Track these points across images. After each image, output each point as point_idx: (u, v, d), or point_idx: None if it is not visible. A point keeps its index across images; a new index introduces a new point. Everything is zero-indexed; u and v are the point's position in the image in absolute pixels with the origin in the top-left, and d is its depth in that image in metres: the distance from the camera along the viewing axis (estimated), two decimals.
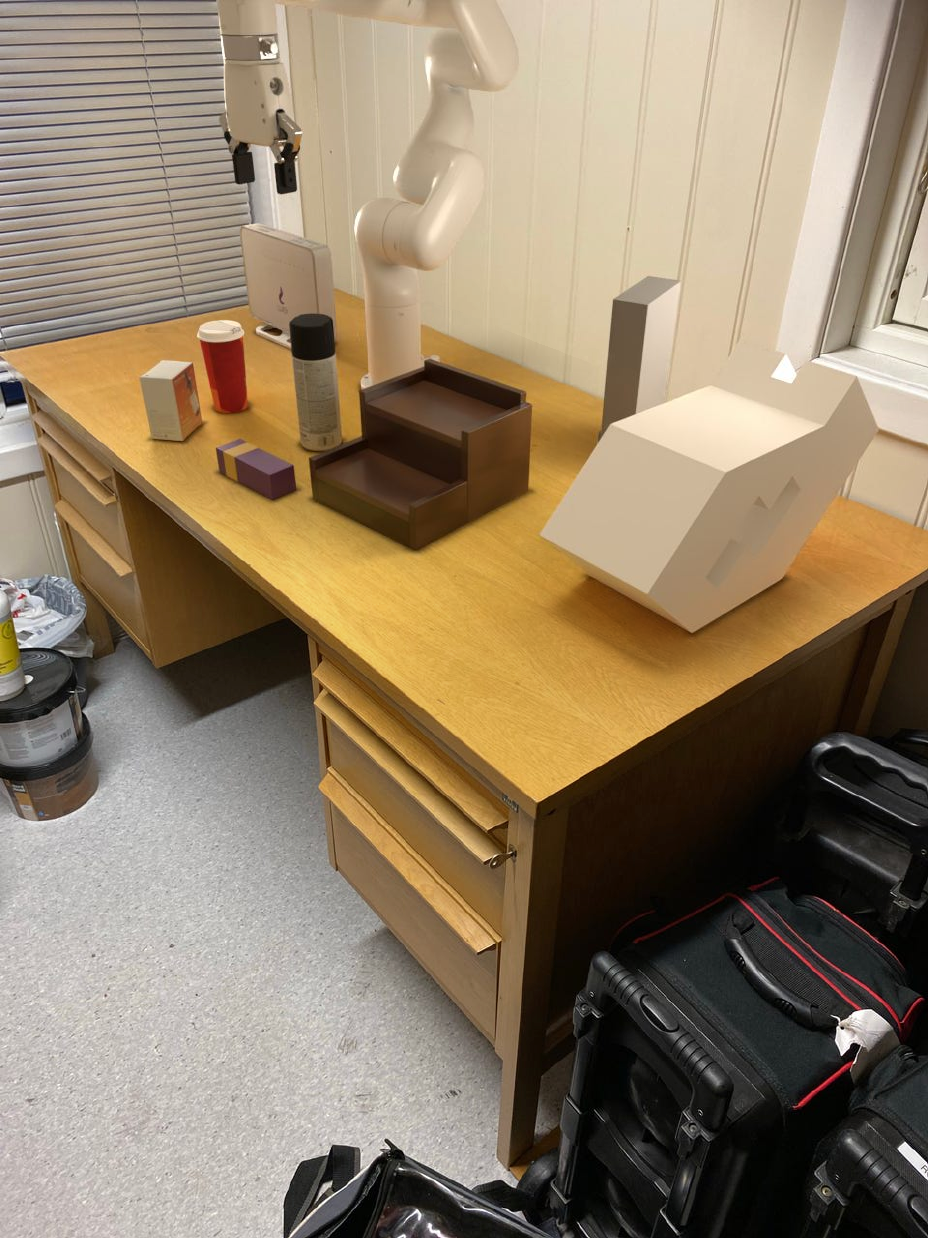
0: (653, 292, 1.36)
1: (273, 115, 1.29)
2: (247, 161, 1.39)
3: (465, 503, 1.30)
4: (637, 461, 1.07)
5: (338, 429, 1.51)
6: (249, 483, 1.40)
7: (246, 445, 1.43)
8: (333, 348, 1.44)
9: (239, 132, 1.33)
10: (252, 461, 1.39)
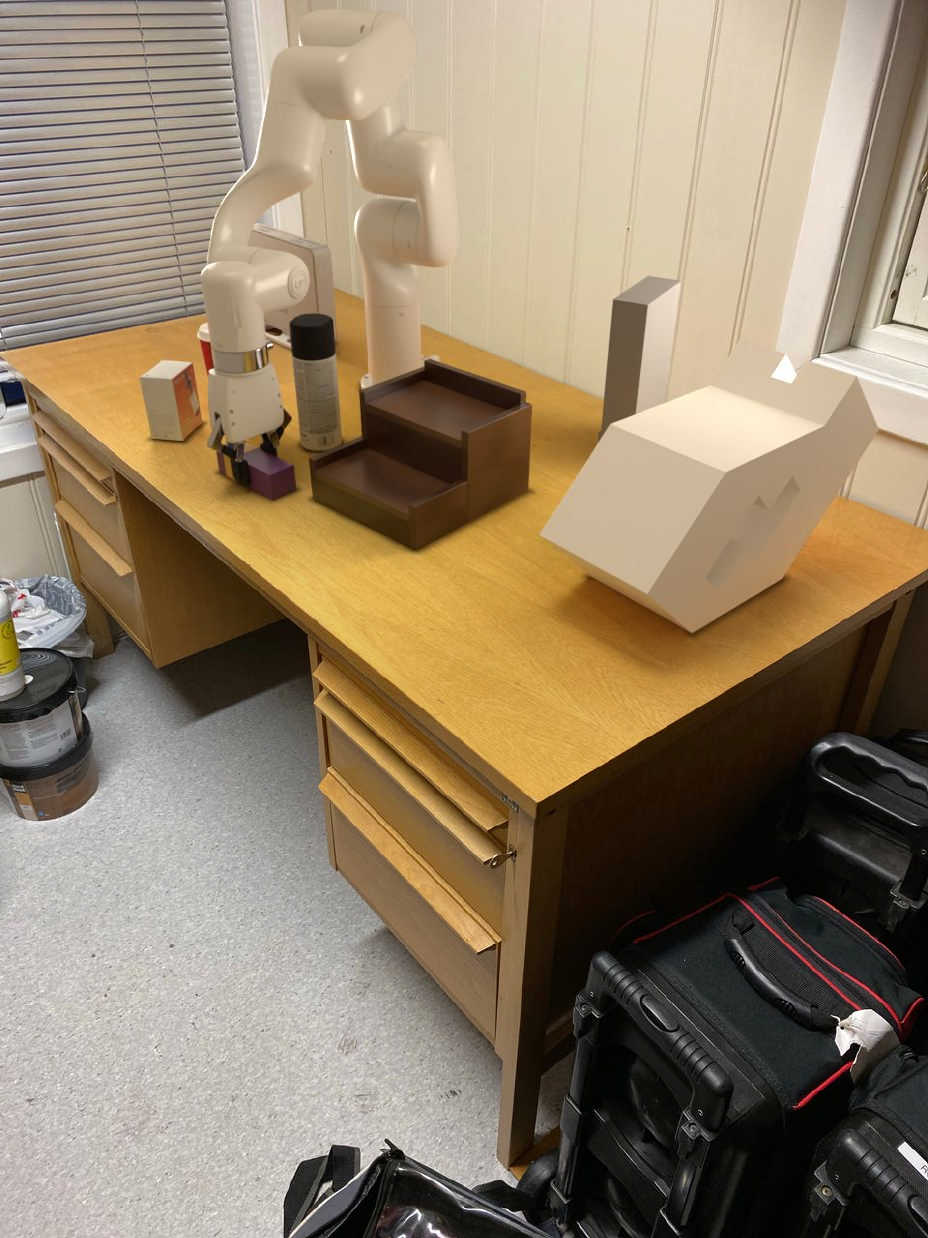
0: (653, 292, 1.36)
1: None
2: None
3: (465, 503, 1.30)
4: (637, 461, 1.07)
5: (338, 429, 1.51)
6: None
7: (246, 445, 1.43)
8: (333, 348, 1.44)
9: (248, 432, 1.35)
10: (252, 461, 1.39)
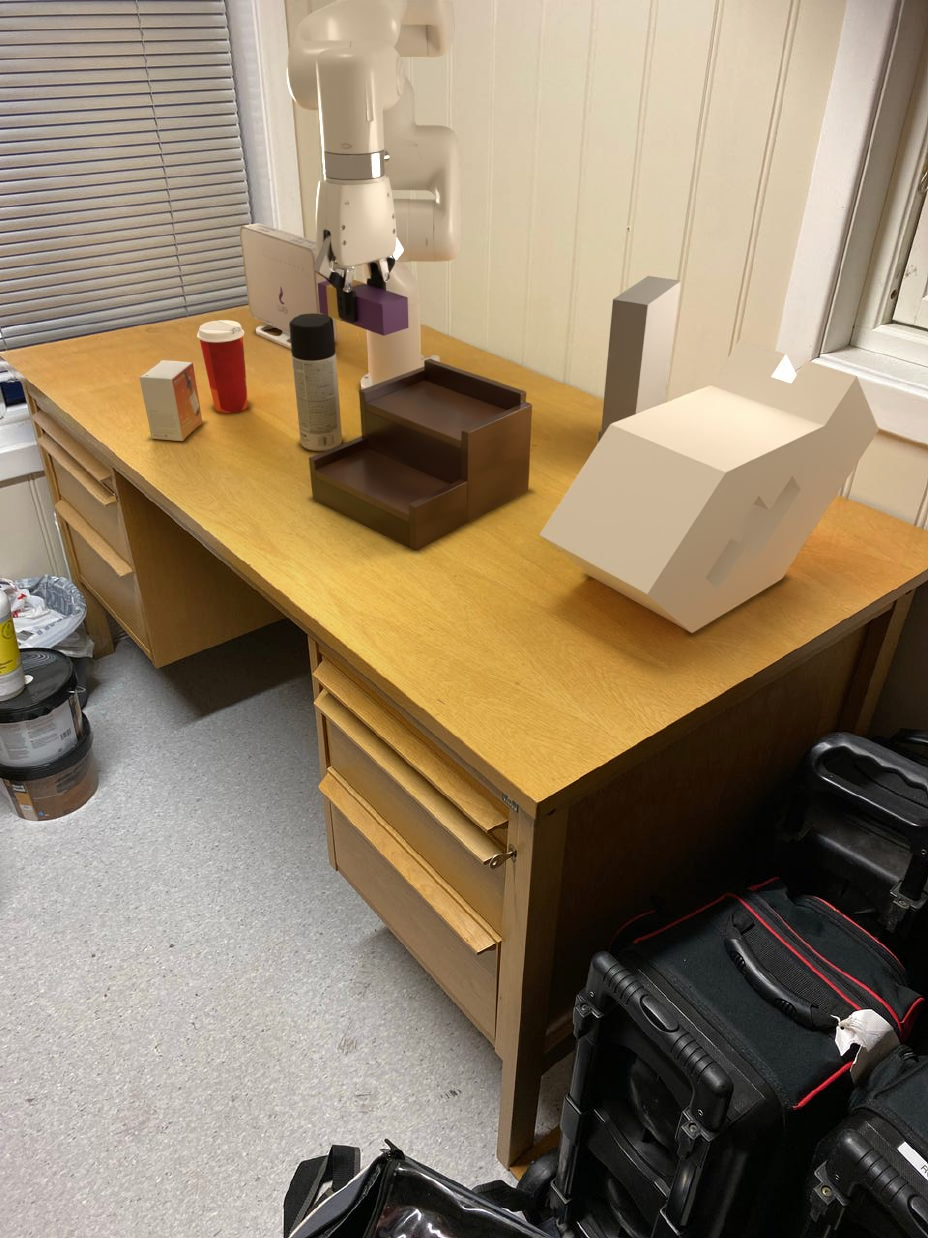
0: (653, 292, 1.36)
1: None
2: None
3: (465, 503, 1.30)
4: (637, 461, 1.07)
5: (338, 429, 1.51)
6: None
7: None
8: (333, 348, 1.44)
9: (359, 256, 1.20)
10: (361, 293, 1.24)
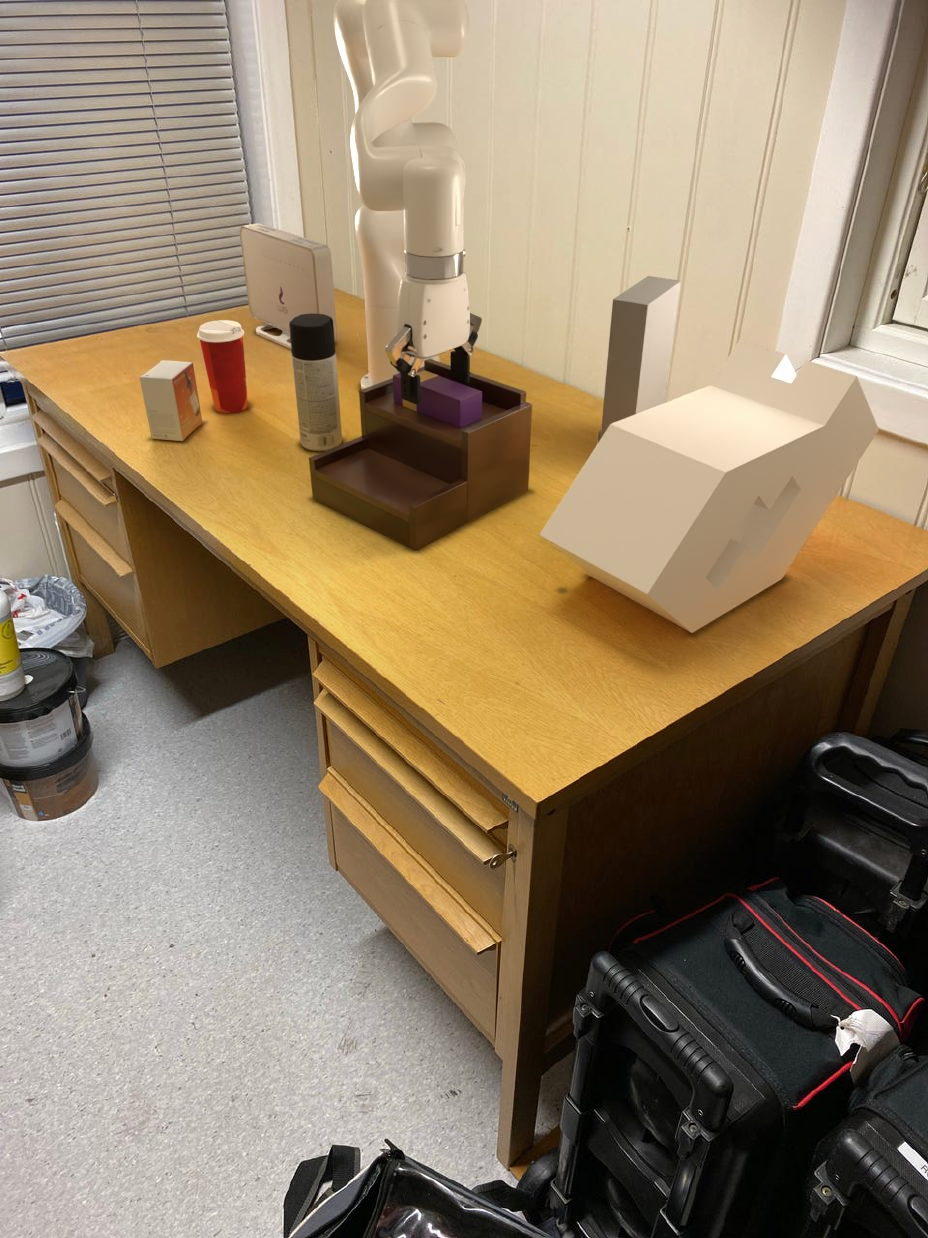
0: (653, 292, 1.36)
1: None
2: None
3: (465, 503, 1.30)
4: (637, 461, 1.07)
5: (338, 429, 1.51)
6: (432, 412, 1.32)
7: (424, 373, 1.35)
8: (333, 348, 1.44)
9: (437, 347, 1.26)
10: (437, 387, 1.31)
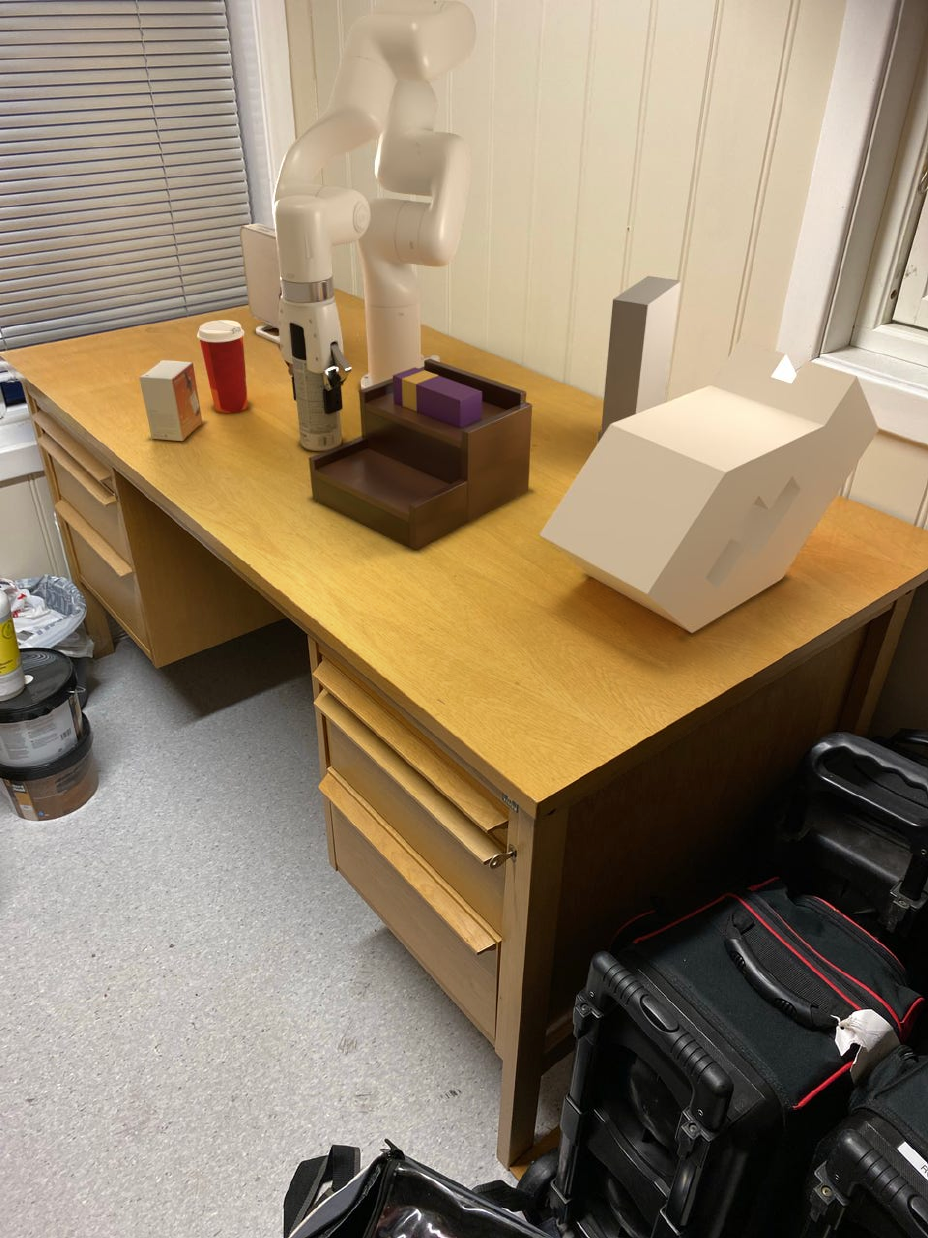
0: (653, 292, 1.36)
1: None
2: None
3: (465, 503, 1.30)
4: (637, 461, 1.07)
5: (338, 429, 1.51)
6: (432, 412, 1.32)
7: (424, 373, 1.35)
8: None
9: None
10: (437, 387, 1.31)
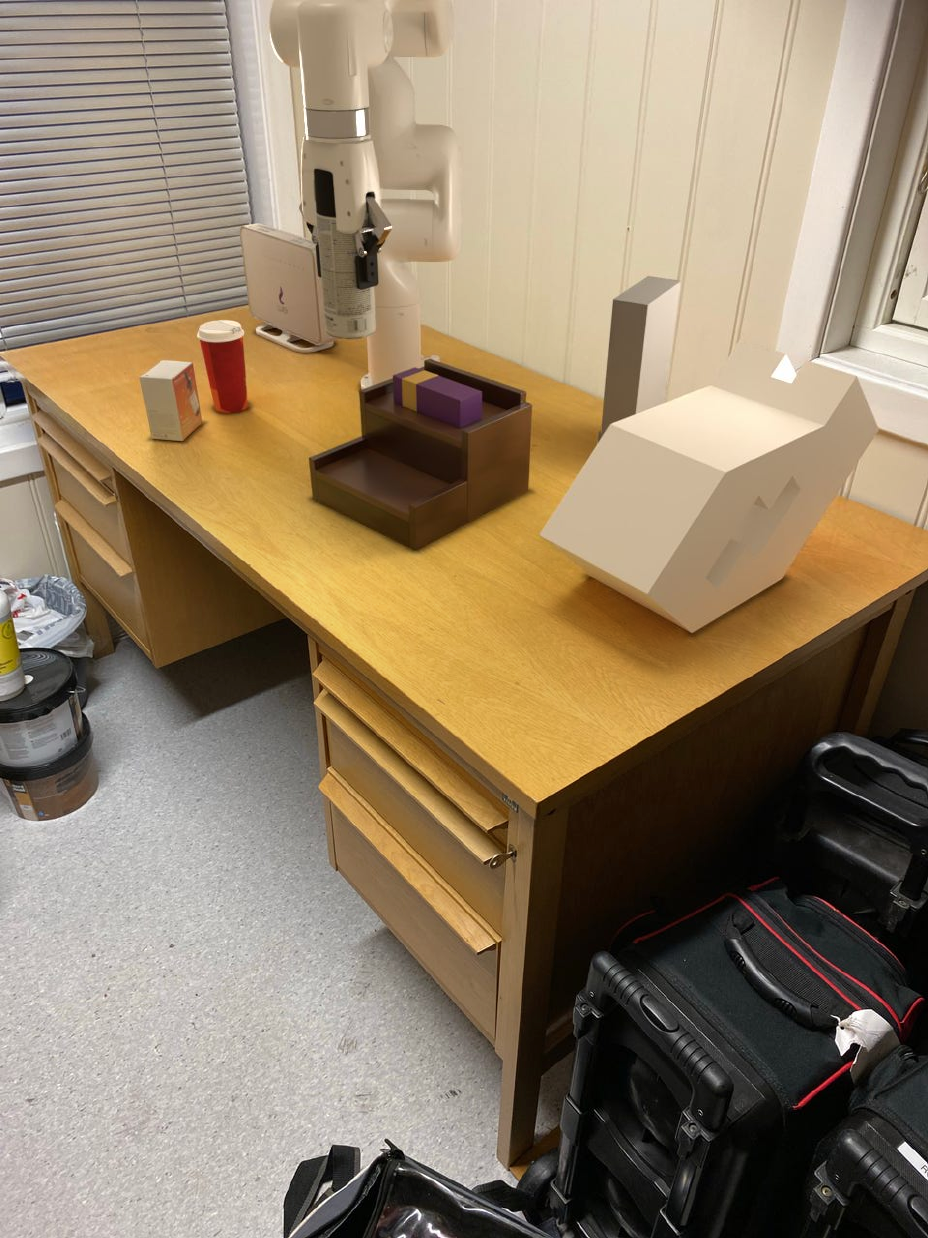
0: (653, 292, 1.36)
1: None
2: None
3: (465, 503, 1.30)
4: (637, 461, 1.07)
5: (372, 312, 1.23)
6: (432, 412, 1.32)
7: (424, 373, 1.35)
8: None
9: None
10: (437, 387, 1.31)
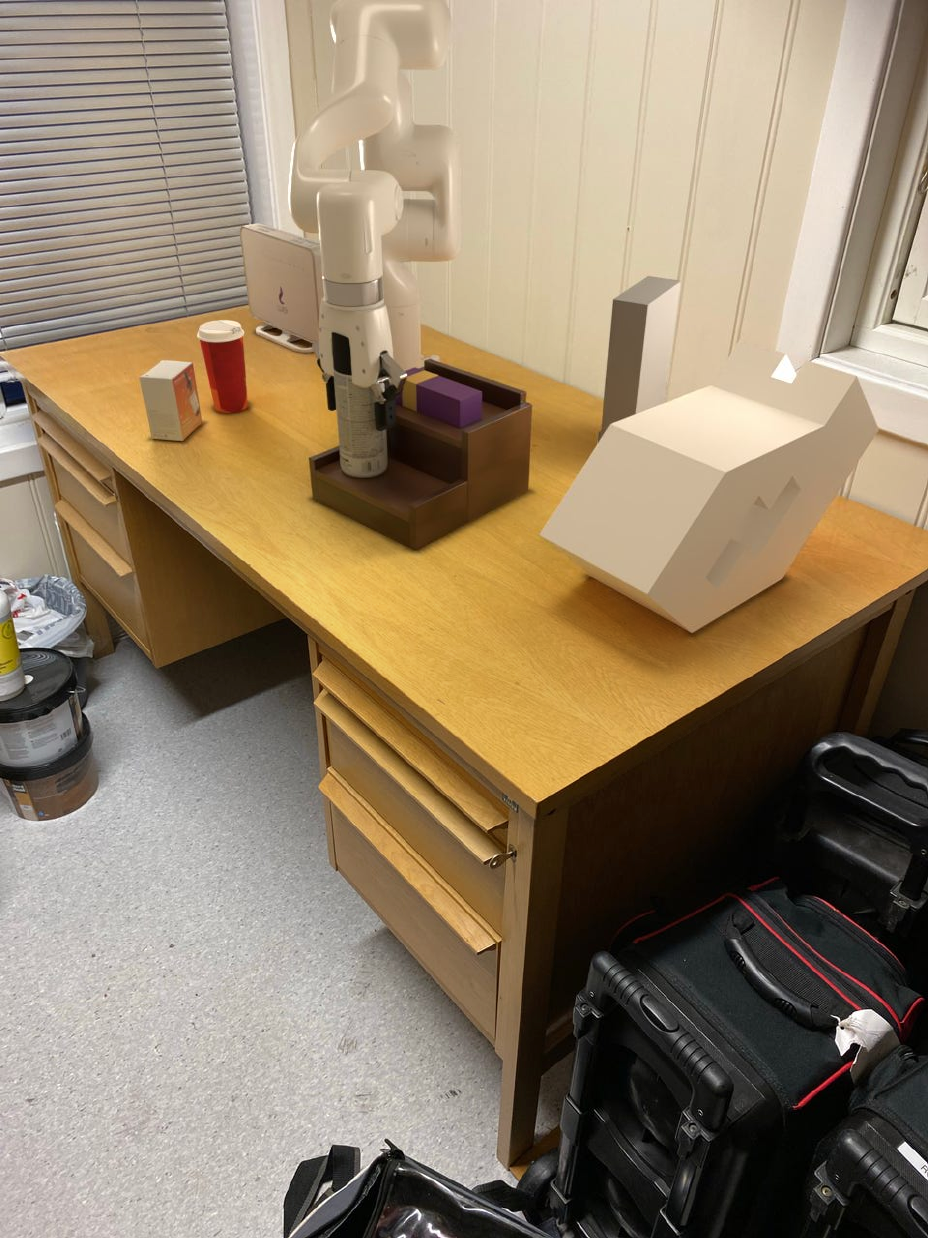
0: (653, 292, 1.36)
1: None
2: None
3: (465, 503, 1.30)
4: (637, 461, 1.07)
5: (384, 453, 1.32)
6: (432, 412, 1.32)
7: (424, 373, 1.35)
8: None
9: None
10: (437, 387, 1.31)
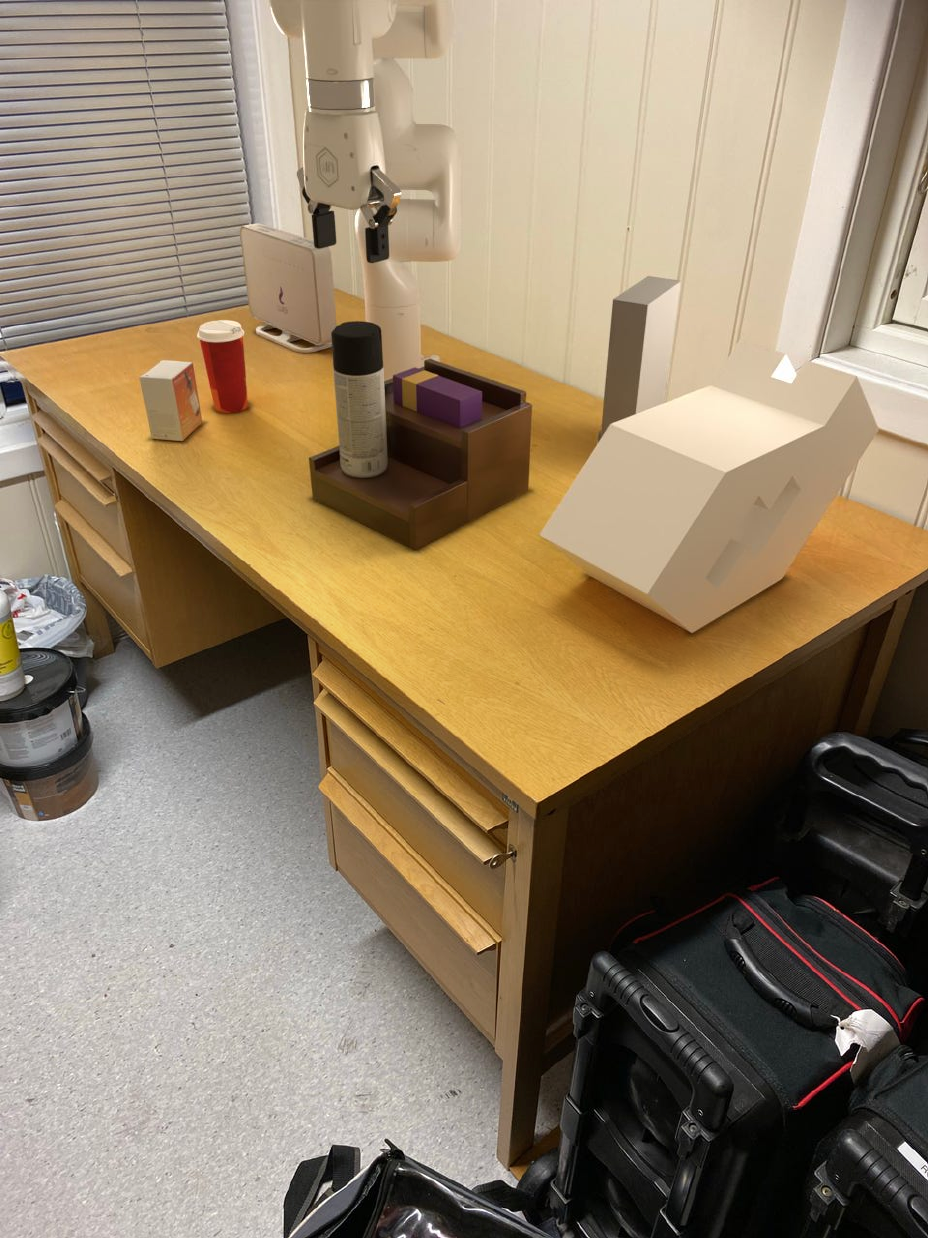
0: (653, 292, 1.36)
1: None
2: None
3: (465, 503, 1.30)
4: (637, 461, 1.07)
5: (384, 453, 1.32)
6: (432, 412, 1.32)
7: (424, 373, 1.35)
8: (381, 361, 1.25)
9: None
10: (437, 387, 1.31)
